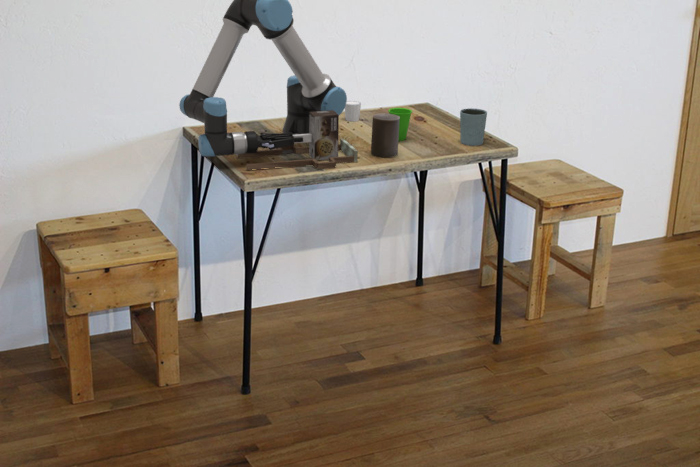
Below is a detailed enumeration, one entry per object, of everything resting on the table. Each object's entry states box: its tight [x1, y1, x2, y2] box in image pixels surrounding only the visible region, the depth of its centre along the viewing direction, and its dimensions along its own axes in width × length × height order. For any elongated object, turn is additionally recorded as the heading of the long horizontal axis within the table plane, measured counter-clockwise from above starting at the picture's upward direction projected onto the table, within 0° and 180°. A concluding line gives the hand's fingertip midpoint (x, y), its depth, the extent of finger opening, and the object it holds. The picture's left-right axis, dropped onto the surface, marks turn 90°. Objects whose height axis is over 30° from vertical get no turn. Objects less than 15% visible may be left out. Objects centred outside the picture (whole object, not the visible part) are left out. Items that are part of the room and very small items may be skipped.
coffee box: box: [308, 110, 340, 161], centre depth 319 cm, size 9×6×16 cm
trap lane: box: [236, 138, 359, 171], centre depth 318 cm, size 25×39×4 cm, turn 109°
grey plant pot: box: [459, 107, 488, 147], centre depth 342 cm, size 10×10×12 cm
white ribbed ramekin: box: [344, 100, 362, 122], centre depth 369 cm, size 7×7×7 cm
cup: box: [387, 107, 413, 142], centre depth 344 cm, size 9×9×11 cm
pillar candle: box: [370, 112, 400, 158], centre depth 325 cm, size 10×10×15 cm
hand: (310, 137), depth 318 cm, fingers closed
